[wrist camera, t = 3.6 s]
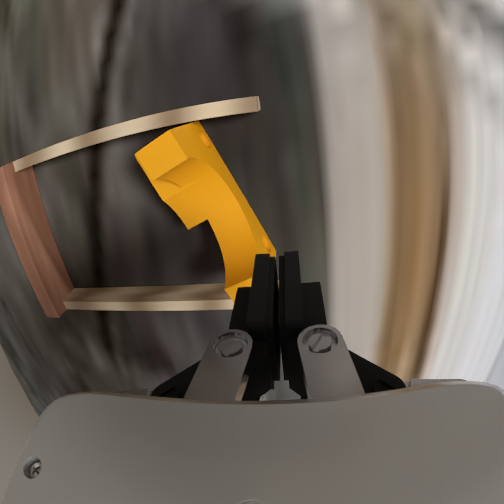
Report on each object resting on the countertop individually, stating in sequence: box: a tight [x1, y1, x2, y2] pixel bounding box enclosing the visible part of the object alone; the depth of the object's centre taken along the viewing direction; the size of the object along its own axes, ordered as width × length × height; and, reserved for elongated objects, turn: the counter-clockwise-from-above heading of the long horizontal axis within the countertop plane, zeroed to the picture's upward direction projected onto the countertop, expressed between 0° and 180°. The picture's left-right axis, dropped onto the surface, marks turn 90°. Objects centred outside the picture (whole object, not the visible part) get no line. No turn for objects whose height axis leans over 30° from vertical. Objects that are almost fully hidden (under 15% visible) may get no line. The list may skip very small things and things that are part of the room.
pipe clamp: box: [135, 121, 276, 302], centre depth 21 cm, size 12×4×6 cm, turn 30°
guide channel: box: [0, 96, 279, 318], centre depth 23 cm, size 24×16×4 cm, turn 98°
